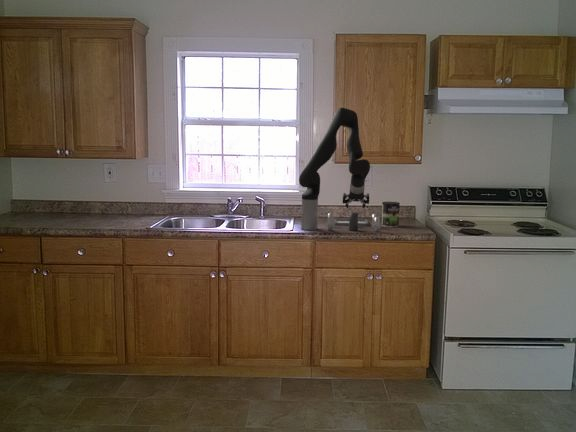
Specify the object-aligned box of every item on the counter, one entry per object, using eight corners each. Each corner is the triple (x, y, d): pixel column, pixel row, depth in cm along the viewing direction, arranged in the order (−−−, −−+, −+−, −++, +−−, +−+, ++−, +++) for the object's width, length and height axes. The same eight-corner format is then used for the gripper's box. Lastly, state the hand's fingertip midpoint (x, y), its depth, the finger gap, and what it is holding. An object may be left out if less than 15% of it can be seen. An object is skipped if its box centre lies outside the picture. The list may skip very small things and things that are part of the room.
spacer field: (327, 231, 308) (328, 217, 306) (327, 225, 325) (327, 212, 324) (379, 232, 306) (380, 217, 305) (376, 226, 324) (377, 213, 322)
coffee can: (401, 227, 324) (402, 203, 322) (385, 227, 322) (386, 203, 319) (394, 224, 334) (395, 201, 332) (378, 224, 331) (379, 201, 329)
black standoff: (349, 230, 309) (349, 213, 307) (348, 229, 314) (349, 212, 312) (358, 231, 309) (358, 213, 307) (357, 229, 313) (357, 212, 312)
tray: (335, 225, 327) (335, 222, 326) (334, 220, 344) (334, 218, 344) (368, 226, 325) (368, 223, 325) (366, 221, 343) (366, 219, 343)
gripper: (370, 182, 288) (368, 201, 301) (343, 182, 289) (342, 201, 302) (371, 193, 283) (368, 212, 296) (343, 193, 284) (342, 212, 297)
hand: (355, 206), depth 299 cm, fingers open, 8 cm apart
